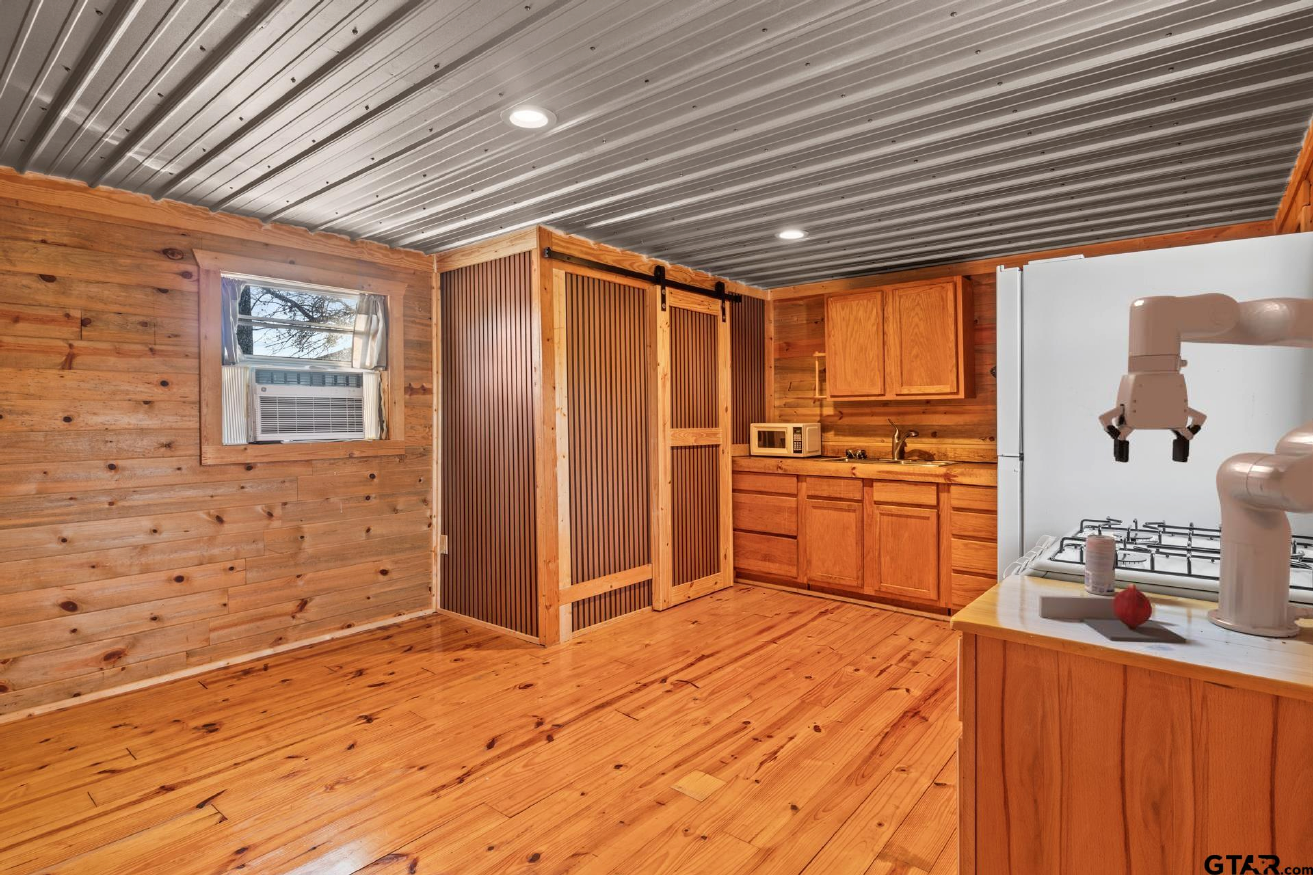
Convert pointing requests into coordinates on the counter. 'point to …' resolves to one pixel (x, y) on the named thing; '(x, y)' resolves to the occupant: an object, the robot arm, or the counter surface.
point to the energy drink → (1100, 564)
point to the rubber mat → (1132, 631)
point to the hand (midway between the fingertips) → (1150, 461)
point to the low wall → (1076, 607)
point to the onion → (1132, 607)
